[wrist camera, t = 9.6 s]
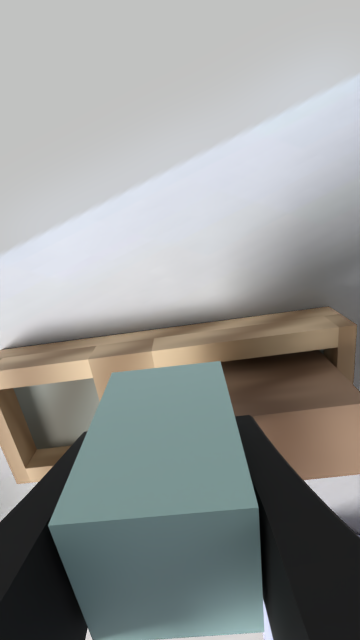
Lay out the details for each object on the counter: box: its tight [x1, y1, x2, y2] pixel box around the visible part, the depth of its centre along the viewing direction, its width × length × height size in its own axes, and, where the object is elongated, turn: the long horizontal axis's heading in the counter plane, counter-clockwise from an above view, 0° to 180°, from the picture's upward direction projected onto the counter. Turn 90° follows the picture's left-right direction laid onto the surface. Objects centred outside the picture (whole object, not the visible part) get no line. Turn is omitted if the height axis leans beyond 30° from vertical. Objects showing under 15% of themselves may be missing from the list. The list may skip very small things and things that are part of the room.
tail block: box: [48, 361, 264, 640], centre depth 8 cm, size 4×4×5 cm
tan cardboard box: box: [221, 350, 360, 480], centre depth 14 cm, size 7×4×4 cm, turn 98°
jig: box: [0, 307, 357, 484], centre depth 16 cm, size 18×7×3 cm, turn 98°
